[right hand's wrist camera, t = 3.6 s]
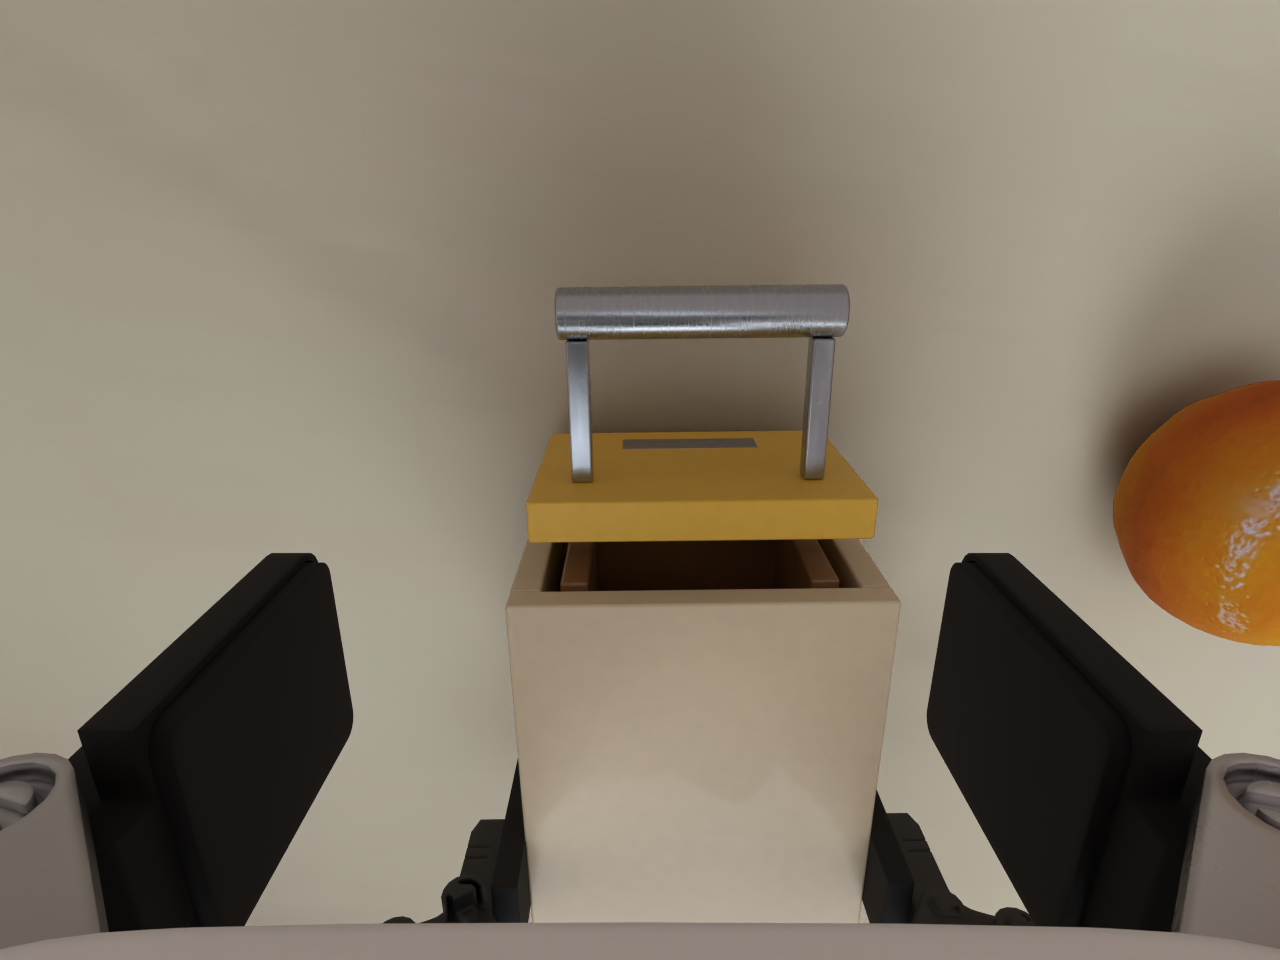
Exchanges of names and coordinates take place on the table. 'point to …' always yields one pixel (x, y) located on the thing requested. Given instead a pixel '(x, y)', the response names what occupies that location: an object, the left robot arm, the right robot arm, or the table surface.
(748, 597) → the cabinet
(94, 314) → the table surface
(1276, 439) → the fruit
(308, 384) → the table surface
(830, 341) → the drawer
